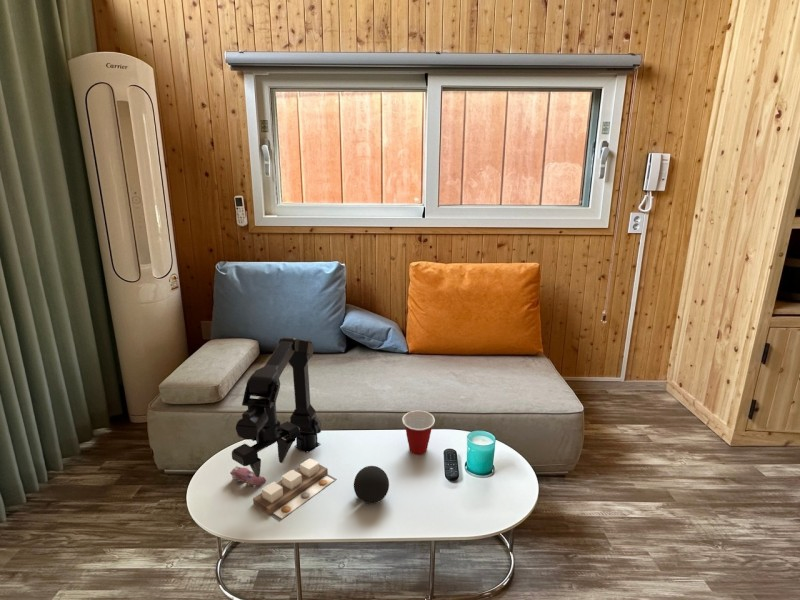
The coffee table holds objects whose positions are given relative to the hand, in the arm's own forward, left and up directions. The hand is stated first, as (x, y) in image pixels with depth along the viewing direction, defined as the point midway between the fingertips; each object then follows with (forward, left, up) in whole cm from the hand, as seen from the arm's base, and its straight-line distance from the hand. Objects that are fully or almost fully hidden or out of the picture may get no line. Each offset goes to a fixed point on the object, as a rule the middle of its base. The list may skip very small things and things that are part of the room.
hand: (269, 469), depth 128 cm
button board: (-7, +2, -11) cm, 13 cm away
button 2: (-14, 0, -9) cm, 17 cm away
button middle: (-7, 0, -9) cm, 11 cm away
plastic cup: (-46, +18, -11) cm, 51 cm away
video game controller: (-1, -13, -11) cm, 17 cm away
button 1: (0, 0, -9) cm, 9 cm away
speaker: (-18, +21, -11) cm, 30 cm away
